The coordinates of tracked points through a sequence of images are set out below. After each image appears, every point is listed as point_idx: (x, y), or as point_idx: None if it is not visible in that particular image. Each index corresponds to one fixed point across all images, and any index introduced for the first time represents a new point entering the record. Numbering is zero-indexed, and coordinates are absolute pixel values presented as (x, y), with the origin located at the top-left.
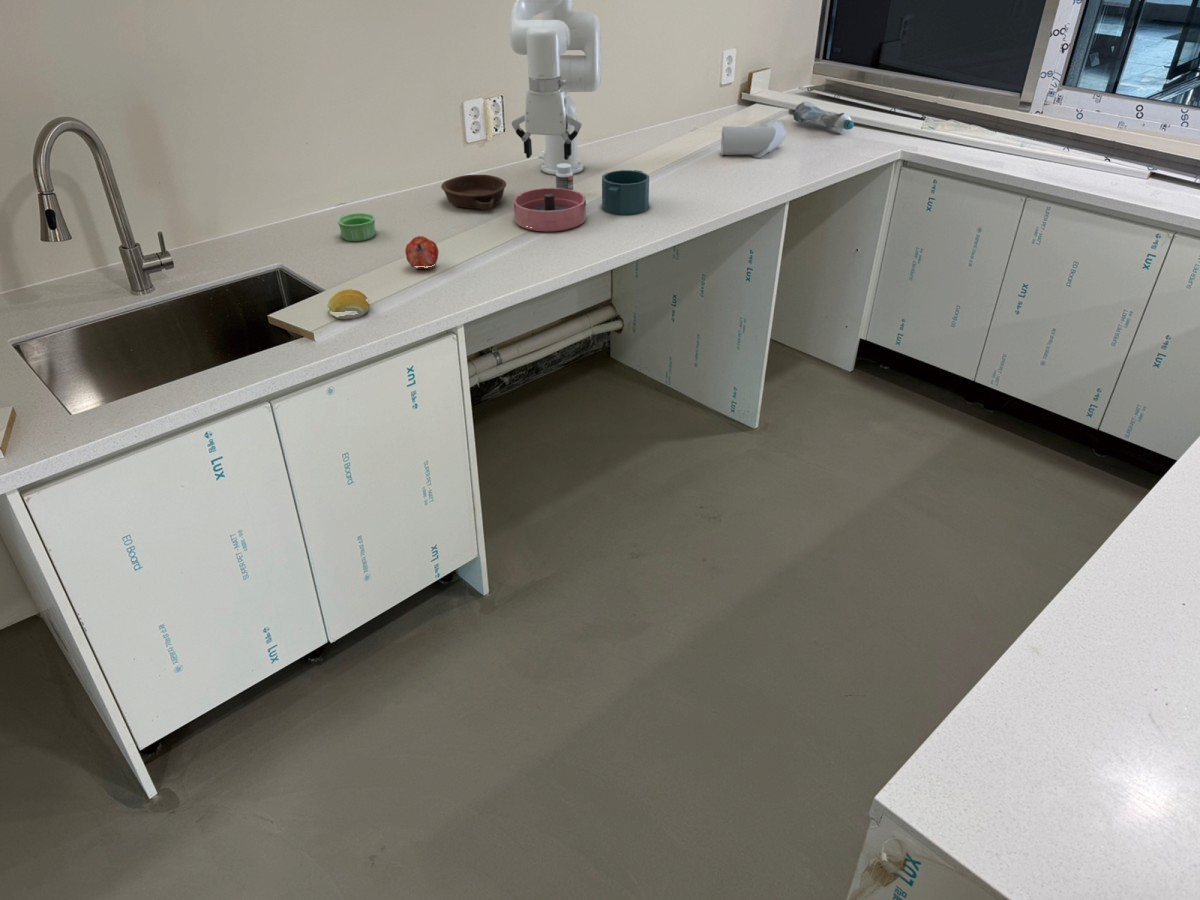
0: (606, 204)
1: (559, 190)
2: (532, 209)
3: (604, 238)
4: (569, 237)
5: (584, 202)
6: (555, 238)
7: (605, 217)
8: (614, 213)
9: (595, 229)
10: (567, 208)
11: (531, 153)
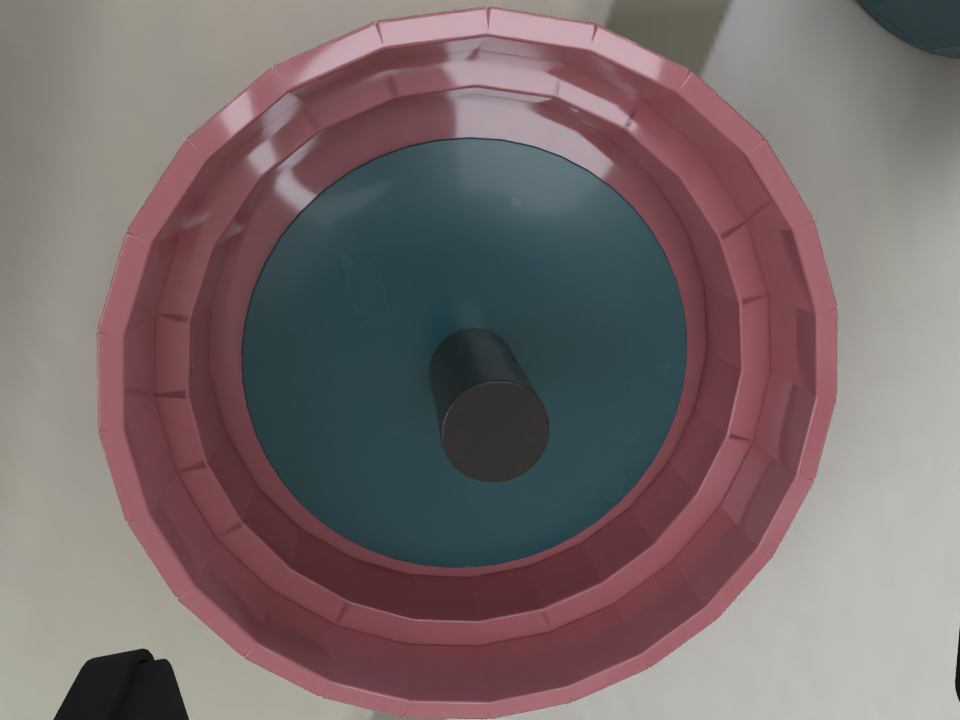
0: (910, 3)
1: (470, 40)
2: (270, 303)
3: (921, 551)
4: None
5: (833, 369)
6: None
7: (875, 156)
8: (941, 53)
9: (840, 424)
10: (572, 183)
11: (166, 710)
